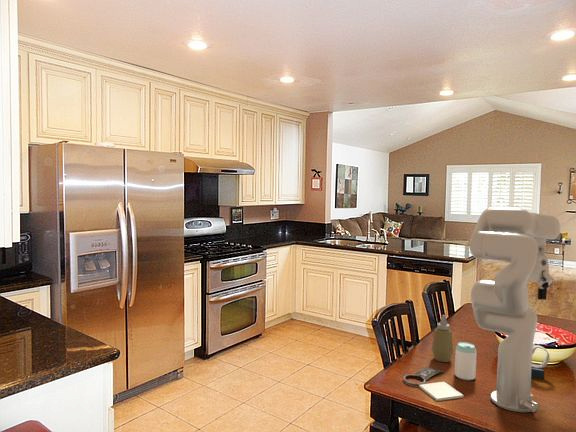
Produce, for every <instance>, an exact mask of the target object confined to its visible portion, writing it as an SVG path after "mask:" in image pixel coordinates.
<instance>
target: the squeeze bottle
mask: <svg viewBox="0 0 576 432" xmlns="http://www.w3.org/2000/svg"><path fill="white" fill-rule="evenodd" d="M447 321H448V320H447V317H446V315H445V314H442V315H441V320H440V321H439V322H438V323H437V326H436V328H435V329H434V334H433V340H432V349H431V351H432V354H433V357H434V360H436V361H438V362H443V363H449V362H450V361H451V359H452V356H453V354H454V346H453V345H454V344H453V331H452V330H450V329H451V325H450V324H449V323H448V322H447Z"/></svg>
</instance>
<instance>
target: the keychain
mask: <svg viewBox="0 0 576 432" xmlns="http://www.w3.org/2000/svg"><path fill="white" fill-rule="evenodd" d="M443 373H444V371H443V370H440V369H436V368H434V367H431V366H427V367H424V368H422V369H420V370H417V371H416V372H415V373H413V374H412V373H411V374H410V373H409V374H406V375H404V376H403V379H402V381H403V382H404V384H406V385H408V386H410V387H416V388H417V387H418V388H420V387H419V385H422V384H427V382H426V381H429V380H430V378H431V377H432V378H433V376H435V375H437V374H443ZM410 378H411V379H418V380H419V381H421V382H413V381H409V380H407V379H410Z"/></svg>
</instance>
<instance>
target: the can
mask: <svg viewBox="0 0 576 432" xmlns="http://www.w3.org/2000/svg"><path fill="white" fill-rule="evenodd" d="M477 353H478V351H477V349H476V346H475V345H474V344H473V343H470V342H464V341H462V342H461V341H460V342H458V343H457V345H456V346H455V357H454V358H455V359H454V376H455V377H457V378H458V379H460V380H463V381H472V380H474V379H476V374H477Z"/></svg>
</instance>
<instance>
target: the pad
mask: <svg viewBox="0 0 576 432" xmlns="http://www.w3.org/2000/svg"><path fill="white" fill-rule="evenodd" d="M418 388H420V389H421V390H422V391H423V392H425V393H426V394H427V395H428V396H430V397H431V398H432V399H433V400H435V402H436V401H437V402H438V401H439V402H441V401H446V400H447V401H448V400H454V399H461V398H464V394H462V392H460V391H458V390H456V388H454V387H452V386H451V385H449V384H448V383H447V382H445V381H439V382H431V383H426V384H422V385H419V387H418Z"/></svg>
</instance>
